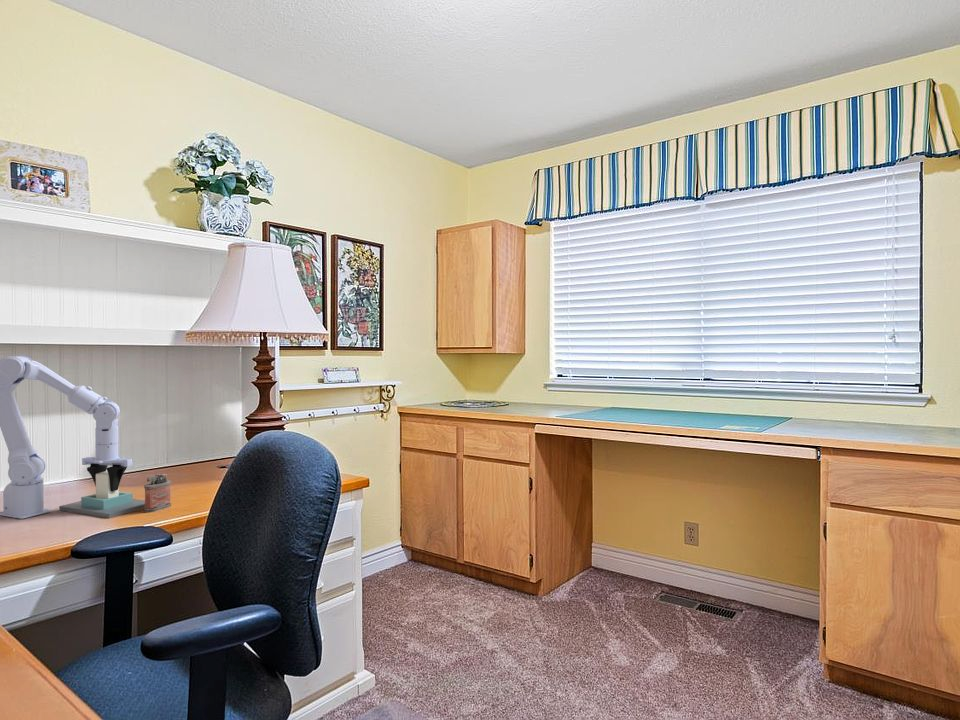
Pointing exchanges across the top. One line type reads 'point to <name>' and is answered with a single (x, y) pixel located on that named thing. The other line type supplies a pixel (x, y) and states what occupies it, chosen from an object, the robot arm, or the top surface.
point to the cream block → (104, 486)
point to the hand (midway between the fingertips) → (107, 490)
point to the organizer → (105, 505)
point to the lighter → (157, 493)
